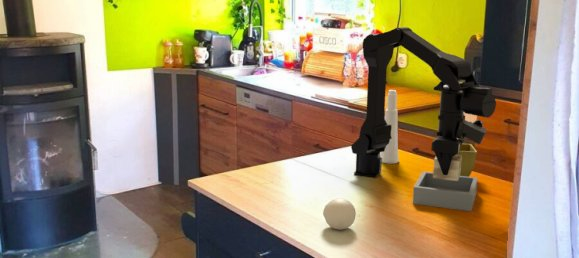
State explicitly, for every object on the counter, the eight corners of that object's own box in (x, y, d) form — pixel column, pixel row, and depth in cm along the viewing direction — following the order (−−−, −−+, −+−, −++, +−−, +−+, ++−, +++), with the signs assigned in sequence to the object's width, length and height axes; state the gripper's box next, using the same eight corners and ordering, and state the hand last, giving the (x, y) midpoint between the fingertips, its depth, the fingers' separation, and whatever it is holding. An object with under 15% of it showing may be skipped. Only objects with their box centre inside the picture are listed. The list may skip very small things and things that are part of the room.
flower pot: (468, 173, 175) (471, 143, 173) (474, 183, 166) (477, 151, 164) (437, 172, 176) (439, 142, 174) (442, 181, 167) (444, 150, 165)
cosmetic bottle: (378, 157, 190) (381, 88, 185) (398, 158, 189) (402, 89, 184) (379, 163, 184) (382, 91, 179) (399, 164, 183) (403, 92, 178)
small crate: (432, 178, 151) (434, 158, 150) (436, 171, 156) (437, 152, 155) (457, 181, 149) (459, 161, 148) (460, 174, 154) (461, 155, 153)
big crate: (412, 203, 150) (413, 186, 149) (422, 186, 163) (423, 171, 162) (471, 211, 145) (472, 194, 144) (476, 193, 158) (477, 177, 157)
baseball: (334, 219, 139) (334, 191, 138) (360, 227, 135) (361, 199, 133) (316, 228, 134) (316, 199, 133) (343, 236, 130) (344, 207, 128)
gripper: (483, 121, 137) (477, 186, 141) (488, 106, 154) (483, 165, 158) (433, 116, 141) (428, 180, 145) (443, 103, 158) (439, 160, 162)
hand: (446, 171), depth 152 cm, fingers closed on small crate, 6 cm apart
